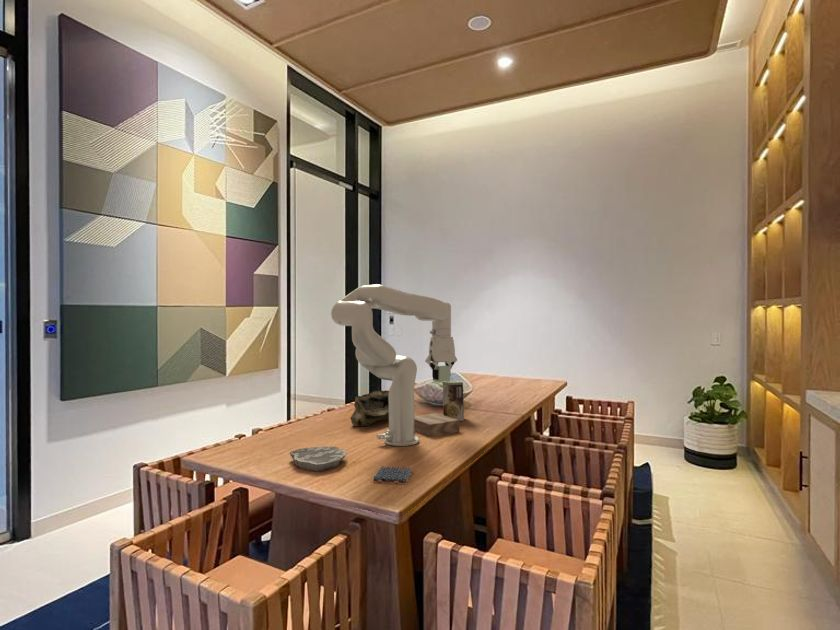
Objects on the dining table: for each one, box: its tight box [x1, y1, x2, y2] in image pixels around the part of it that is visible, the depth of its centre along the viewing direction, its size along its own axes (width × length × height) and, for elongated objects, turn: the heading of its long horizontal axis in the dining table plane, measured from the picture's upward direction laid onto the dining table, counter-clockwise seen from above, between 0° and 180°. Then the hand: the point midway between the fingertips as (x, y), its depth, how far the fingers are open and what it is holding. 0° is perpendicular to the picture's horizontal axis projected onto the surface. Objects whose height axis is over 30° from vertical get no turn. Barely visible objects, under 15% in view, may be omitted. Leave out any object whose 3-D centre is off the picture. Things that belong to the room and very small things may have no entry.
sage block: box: [432, 364, 451, 383], centre depth 194 cm, size 5×5×6 cm
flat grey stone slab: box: [289, 446, 348, 472], centre depth 155 cm, size 20×17×3 cm
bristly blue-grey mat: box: [372, 465, 415, 485], centre depth 140 cm, size 10×11×2 cm
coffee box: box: [442, 381, 465, 422], centre depth 214 cm, size 9×6×16 cm
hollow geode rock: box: [350, 389, 389, 427], centre depth 213 cm, size 28×13×15 cm
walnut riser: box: [414, 412, 460, 437], centre depth 196 cm, size 14×16×5 cm
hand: (441, 378), depth 194 cm, fingers closed on sage block, 5 cm apart
